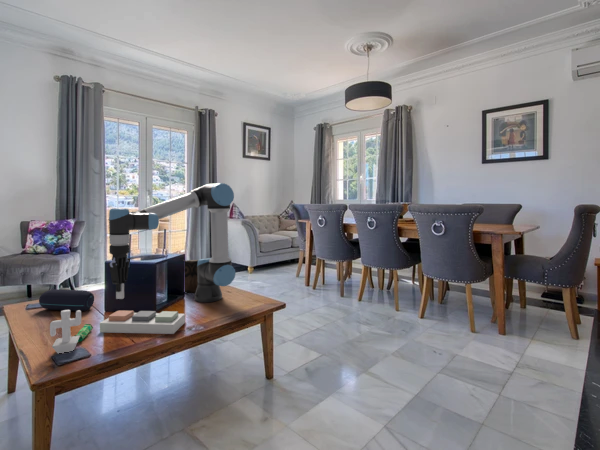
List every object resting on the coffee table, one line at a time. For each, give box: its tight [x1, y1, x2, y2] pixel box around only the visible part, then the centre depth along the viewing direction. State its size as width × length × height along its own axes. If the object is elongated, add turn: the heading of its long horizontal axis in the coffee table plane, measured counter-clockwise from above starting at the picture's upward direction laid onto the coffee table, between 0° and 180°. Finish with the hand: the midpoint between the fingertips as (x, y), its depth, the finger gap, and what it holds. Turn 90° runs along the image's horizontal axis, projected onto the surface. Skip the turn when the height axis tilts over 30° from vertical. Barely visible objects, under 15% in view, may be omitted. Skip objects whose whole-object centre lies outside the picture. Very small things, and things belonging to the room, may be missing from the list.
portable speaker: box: [38, 288, 95, 312], centre depth 162 cm, size 25×10×10 cm, turn 84°
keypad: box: [99, 312, 186, 335], centre depth 141 cm, size 13×31×4 cm, turn 89°
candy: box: [74, 323, 94, 343], centre depth 130 cm, size 12×3×4 cm
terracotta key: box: [108, 309, 135, 321], centre depth 141 cm, size 7×7×3 cm
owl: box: [184, 259, 199, 294], centre depth 196 cm, size 13×13×20 cm
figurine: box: [49, 310, 82, 355], centre depth 118 cm, size 7×9×15 cm
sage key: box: [155, 310, 179, 322], centre depth 140 cm, size 7×7×3 cm
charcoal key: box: [132, 310, 157, 322], centre depth 140 cm, size 7×7×3 cm
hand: (120, 298), depth 140 cm, fingers closed
